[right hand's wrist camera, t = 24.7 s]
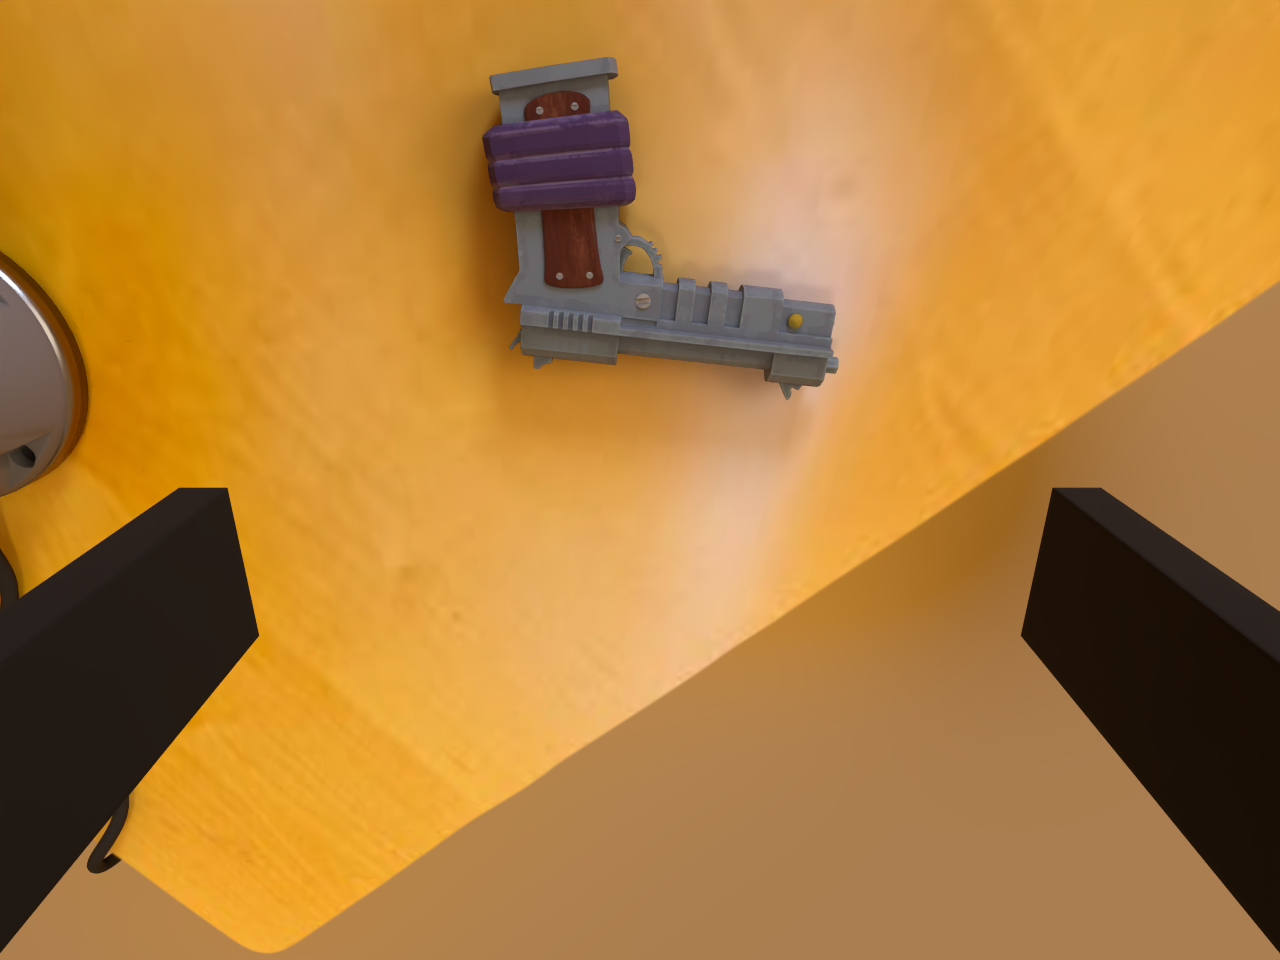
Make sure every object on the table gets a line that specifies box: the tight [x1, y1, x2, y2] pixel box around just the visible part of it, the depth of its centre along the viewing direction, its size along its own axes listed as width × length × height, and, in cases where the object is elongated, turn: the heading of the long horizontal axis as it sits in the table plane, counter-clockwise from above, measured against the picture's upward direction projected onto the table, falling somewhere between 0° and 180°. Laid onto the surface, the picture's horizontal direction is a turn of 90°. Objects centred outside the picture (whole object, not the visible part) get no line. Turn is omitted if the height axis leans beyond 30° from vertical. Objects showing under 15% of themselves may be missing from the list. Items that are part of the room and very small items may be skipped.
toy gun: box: [482, 57, 839, 400], centre depth 38 cm, size 4×19×15 cm
